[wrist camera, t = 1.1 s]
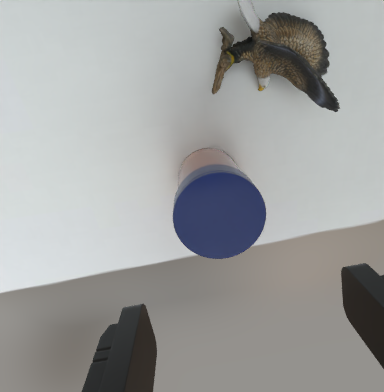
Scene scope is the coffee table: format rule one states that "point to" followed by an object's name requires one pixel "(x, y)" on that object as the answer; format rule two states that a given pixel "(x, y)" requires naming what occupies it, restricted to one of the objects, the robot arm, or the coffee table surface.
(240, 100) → the coffee table surface
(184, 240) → the jar lid
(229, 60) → the brown animal figure
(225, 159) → the jar
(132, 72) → the coffee table surface
